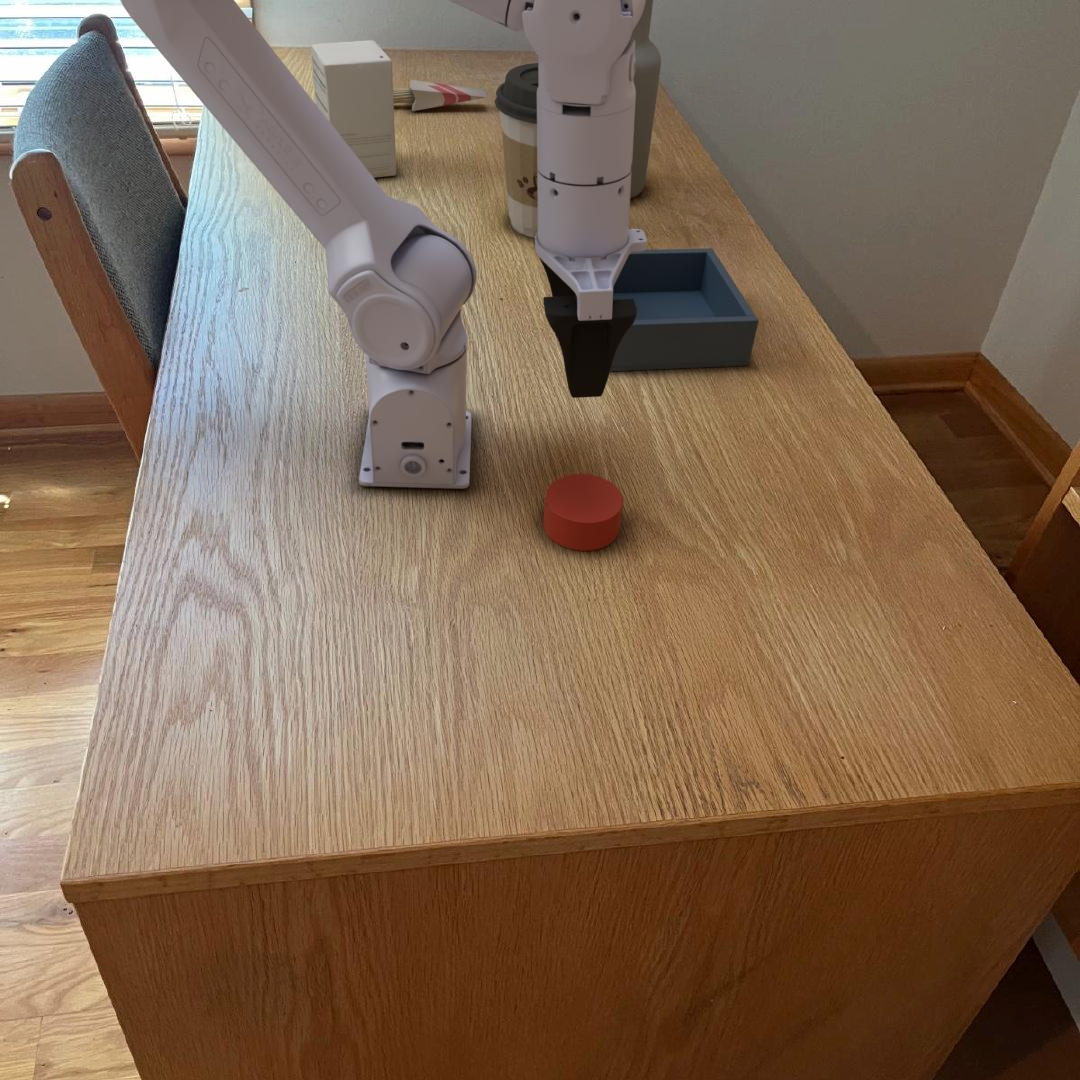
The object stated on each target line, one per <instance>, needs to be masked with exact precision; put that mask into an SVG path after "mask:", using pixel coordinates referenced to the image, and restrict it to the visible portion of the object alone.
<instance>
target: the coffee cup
mask: <svg viewBox="0 0 1080 1080" xmlns="http://www.w3.org/2000/svg"><path fill="white" fill-rule="evenodd" d="M538 87H539V75H538V62H532V63H525V64H521V65H517V66H515V67H513V68H511V69H510V70H508V71H507V73H506V74H505V78H504V82H503V83H501V84H500V85H498V87H497V89H496V91H495V96H496V98H495V99H494V100H493V101H494V102H493V103H494V105H495V108H496V109H498V111H499V113H500V114H499V115H500V125H501V126H500V127H501V136H502V138H501V139H502V149H503V150H502V151H503V161H504V174H505V184H506V196H507V197H506V198H507V206H508V207H507V209H508V216H509V219H510V223H511V228H513V229H514V231H516V232H517V233H519V234H520V235H522V236H526V237H529V238H533V239H534V238H535V235H536V233H537V232H538V192H537V88H538Z"/></svg>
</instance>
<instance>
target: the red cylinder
mask: <svg viewBox="0 0 1080 1080" xmlns="http://www.w3.org/2000/svg"><path fill="white" fill-rule="evenodd" d="M623 505H624V497H623V494H622V492H621V490H620V489H619V487H617V485H615V484H614V483H613V482H611V481H610V480H609V479H606V478H604V477H601V476H599V475H595V474H590V473H570V474H566V475H563V476H560V477H558V478H556V479H554V480H553V481H552V482H551V483H550V484H549V485H548V487H547V488H546V490H545V497H544V506H543V507H544V508H543V521H542V525H543V529H544V532H545V534H546V535H547V537H548V538H550V539H551V541H553V542H554V543H555V544H557V545H559V546H561V547H563V548H566V549H570V550H573V551H581V552H588V551H589V552H590V551H597V550H600V549H602V548H603V549H604V548H605V547H608V546H609V545H611V544H612V543H613V542H614V541H615V540H616V539H617V537H618V535H619V533H620V527H621V519H622V511H623Z"/></svg>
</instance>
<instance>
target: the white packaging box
mask: <svg viewBox="0 0 1080 1080" xmlns="http://www.w3.org/2000/svg"><path fill="white" fill-rule="evenodd" d="M309 46H310V47H309V48H310V58H311V69H312V80H313V91H314V100H315V101H314V103H315V104H316V105H317V106H318V108H319V109H320V110H321V112H322V113H323V114H324V115H325V117H326V118H327V119H328V120H329V122H330V123H331V124H332V126H333V127H334V128H335V129H336V131H337V132H338V133H339V134H340V136H341V137H342V138H343V140H344V141H345V142H346V143H347V145H348V146H349V147H350V148H351V150H352V151H353V152H354V154H355V155H356V156H357V157H358V159H359V160H360V161H361V162H362V164H363V165H364V166H365V168H366V169H367V170H368V171H369V173H370V174H371V175H372V176H373V178H374V179H376V178H385V177H395V176H397V159H396V157H397V156H396V153H397V152H396V130H395V106H394V104H395V103H394V102H393V89H394V81H393V77H394V76H393V61H392V60H391V58H390V57H389V56H388V55H387V54H386V52H385V51H384V50H383V49H382V48H381V47H380V46H379V44H378V43H377V42H376V41H375V40H373V39H368V40H367V39H366V40H355V41H338V42H323V43H310V44H309Z"/></svg>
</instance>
